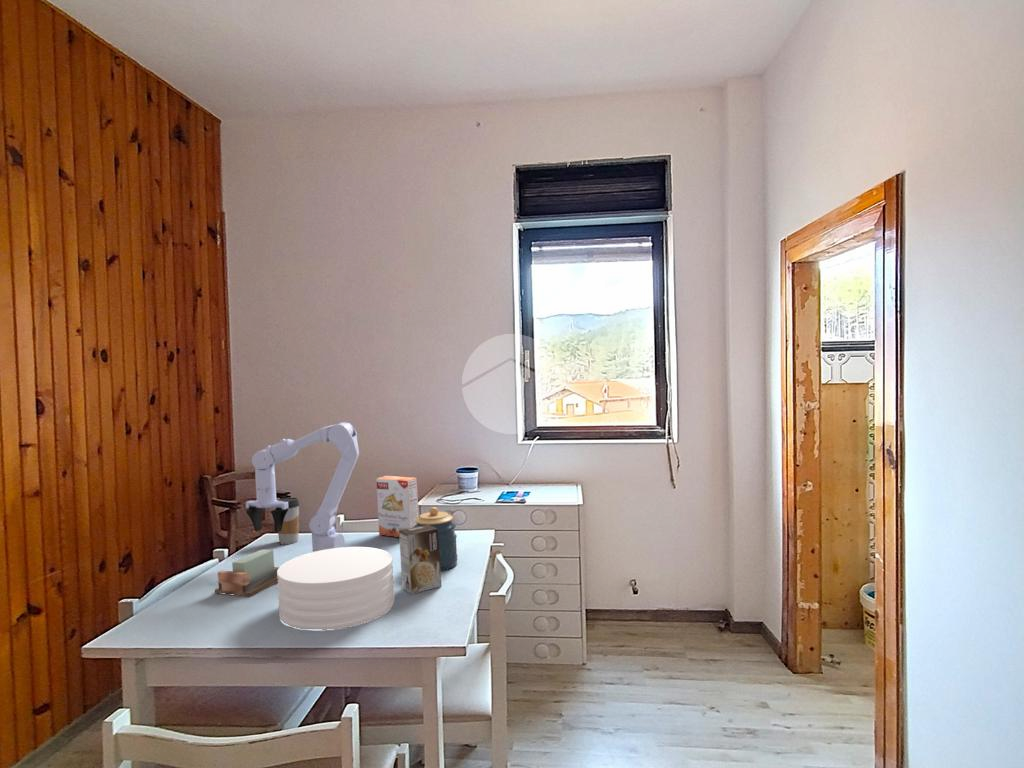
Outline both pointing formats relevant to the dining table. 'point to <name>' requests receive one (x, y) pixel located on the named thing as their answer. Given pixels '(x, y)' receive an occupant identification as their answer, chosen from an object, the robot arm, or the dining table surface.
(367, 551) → the plate stack
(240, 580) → the track
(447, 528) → the canister
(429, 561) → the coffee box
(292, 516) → the coffee cup
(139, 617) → the dining table surface
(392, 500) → the cracker box
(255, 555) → the pale green block
